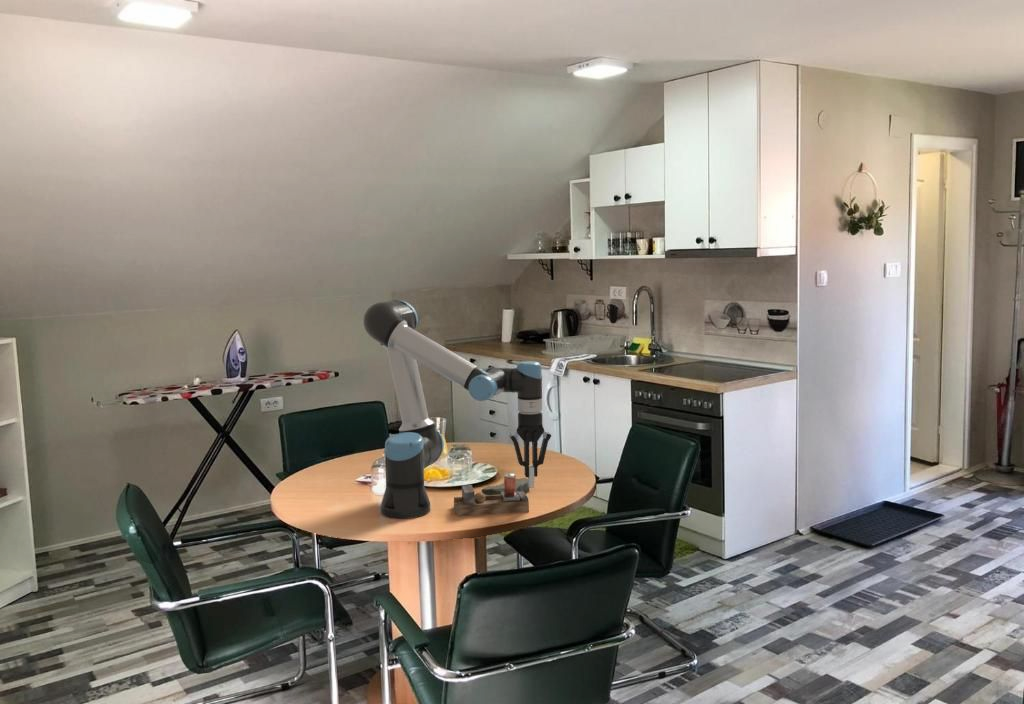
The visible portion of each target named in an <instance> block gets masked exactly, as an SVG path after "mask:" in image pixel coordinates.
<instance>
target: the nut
mask: <svg viewBox="0 0 1024 704" xmlns="http://www.w3.org/2000/svg"><path fill="white" fill-rule="evenodd" d="M484 501H485V494H483V493H482V491H481V492H480V491H479V492H476V493H475V502H476V503H477V504H482V503H484Z"/></svg>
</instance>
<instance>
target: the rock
mask: <svg viewBox="0 0 1024 704" xmlns="http://www.w3.org/2000/svg"><path fill="white" fill-rule="evenodd" d="M503 491H504V482H503V483H500V484H497V485H492V486H485V487H483V488H482V489H481V493H483V494H484V495H500V492H503ZM516 491H517V492H521V491H524V493H525V494H527V493H529V492H530V488H529V487H528V478H527V477H524V478H522V477H521V478H516Z"/></svg>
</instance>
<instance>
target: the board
mask: <svg viewBox="0 0 1024 704" xmlns="http://www.w3.org/2000/svg"><path fill="white" fill-rule="evenodd" d="M517 493H518V495H519V496H520V501H519V502H502V500H501V498H500V495H485V494H484V495H485V501H484V503H482V504H477V503H476V502H475V494H476V493H475V490H474V488H473V485H472V484H466V485H465V484H464V485H461V496H453V508H454V511H455V515H456V517H468V516H469V517H470V516H471V517H472V516H485V515H501V514H519V513H521V512H522V513H530V505H529V504H530V503H529V502H530V501H529V497H528V496H527V493H524V491H521V492H517ZM522 513H521V514H522Z"/></svg>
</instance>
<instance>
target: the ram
mask: <svg viewBox="0 0 1024 704" xmlns="http://www.w3.org/2000/svg"><path fill="white" fill-rule="evenodd" d="M516 477H517V475H516V473H515V472H505V473H504V474H503V483H504V491H503V492H500V498H501V500H502V502H519V501H520V496H519V495H518V493H517V491H516V479H517V478H516Z"/></svg>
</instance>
